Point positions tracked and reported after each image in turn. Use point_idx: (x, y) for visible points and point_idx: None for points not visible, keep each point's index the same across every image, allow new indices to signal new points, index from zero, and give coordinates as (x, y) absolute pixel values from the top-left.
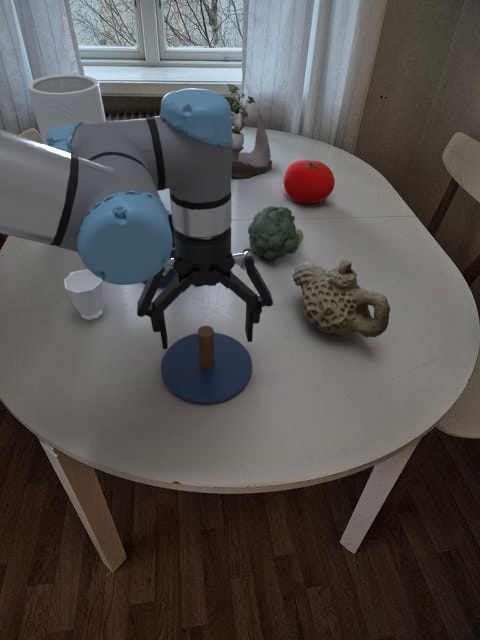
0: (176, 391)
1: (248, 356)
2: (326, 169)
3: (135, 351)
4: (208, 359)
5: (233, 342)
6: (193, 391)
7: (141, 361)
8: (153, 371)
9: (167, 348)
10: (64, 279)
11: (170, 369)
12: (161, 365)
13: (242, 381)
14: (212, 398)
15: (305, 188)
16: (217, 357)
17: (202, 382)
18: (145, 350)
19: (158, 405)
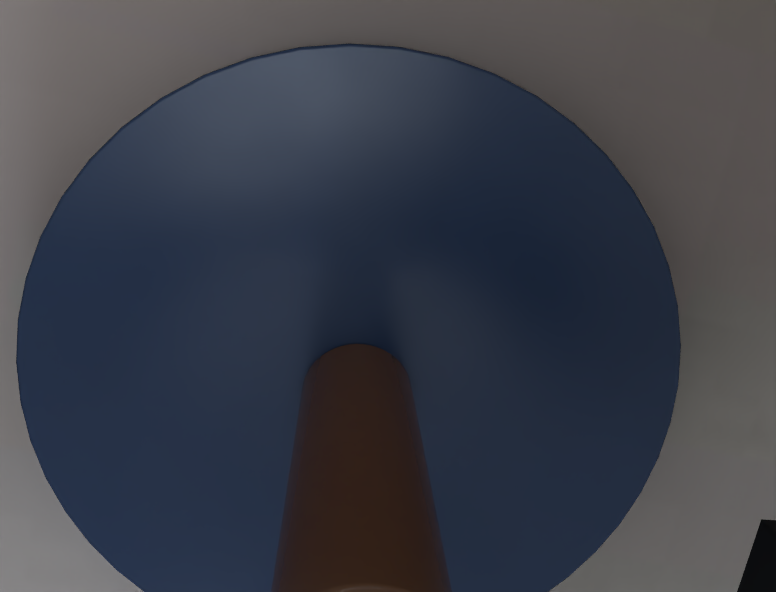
0: (625, 201)
1: (33, 399)
2: None
3: None
4: (353, 392)
5: (127, 539)
6: (507, 171)
7: (744, 507)
8: (696, 419)
9: (769, 525)
10: None
11: (613, 398)
12: (661, 442)
13: (118, 176)
14: (383, 68)
15: None
16: (268, 434)
17: (424, 238)
18: (698, 580)
19: (742, 143)
